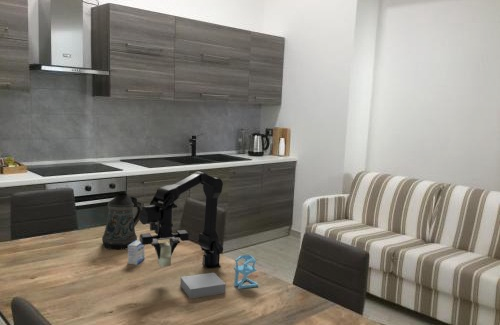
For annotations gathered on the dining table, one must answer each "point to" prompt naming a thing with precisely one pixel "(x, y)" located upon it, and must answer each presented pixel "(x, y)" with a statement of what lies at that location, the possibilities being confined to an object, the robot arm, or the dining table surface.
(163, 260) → the sage block
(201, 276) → the grey block
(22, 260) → the dining table surface
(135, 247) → the medicine box
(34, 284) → the dining table surface
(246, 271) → the light blue lattice frame
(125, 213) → the beer stein
